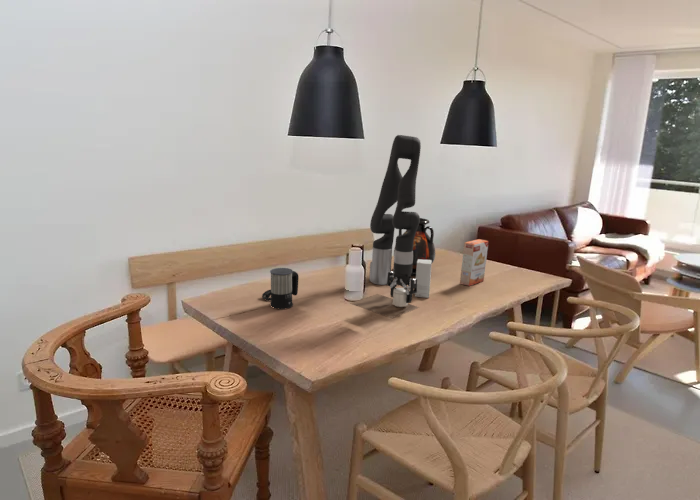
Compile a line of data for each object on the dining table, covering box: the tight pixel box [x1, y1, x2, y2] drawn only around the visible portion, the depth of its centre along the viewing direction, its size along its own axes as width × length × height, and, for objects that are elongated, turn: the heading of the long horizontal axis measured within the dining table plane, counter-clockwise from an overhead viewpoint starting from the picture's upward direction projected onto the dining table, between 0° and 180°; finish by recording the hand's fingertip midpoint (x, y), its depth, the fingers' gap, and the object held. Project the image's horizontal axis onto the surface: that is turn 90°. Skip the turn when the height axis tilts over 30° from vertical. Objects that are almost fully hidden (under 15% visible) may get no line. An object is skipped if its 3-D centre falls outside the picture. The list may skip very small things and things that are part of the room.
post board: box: [349, 293, 420, 319], centre depth 193 cm, size 22×18×8 cm
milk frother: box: [261, 267, 300, 310], centre depth 195 cm, size 14×16×15 cm
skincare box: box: [414, 259, 433, 299], centre depth 212 cm, size 8×7×16 cm
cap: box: [392, 287, 409, 307], centre depth 193 cm, size 6×6×6 cm
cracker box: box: [459, 238, 489, 287], centre depth 233 cm, size 14×6×21 cm, turn 136°
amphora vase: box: [393, 217, 436, 277], centre depth 246 cm, size 22×22×28 cm
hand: (400, 299), depth 193 cm, fingers open, 8 cm apart
